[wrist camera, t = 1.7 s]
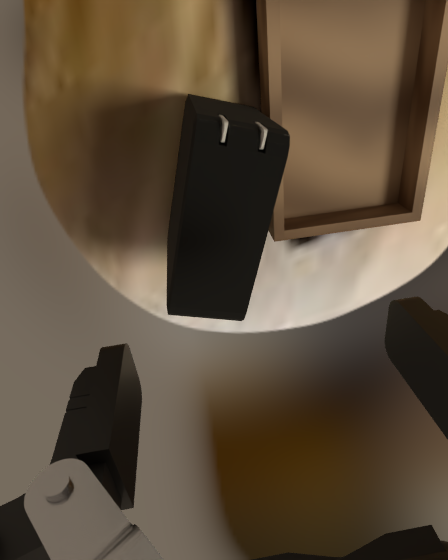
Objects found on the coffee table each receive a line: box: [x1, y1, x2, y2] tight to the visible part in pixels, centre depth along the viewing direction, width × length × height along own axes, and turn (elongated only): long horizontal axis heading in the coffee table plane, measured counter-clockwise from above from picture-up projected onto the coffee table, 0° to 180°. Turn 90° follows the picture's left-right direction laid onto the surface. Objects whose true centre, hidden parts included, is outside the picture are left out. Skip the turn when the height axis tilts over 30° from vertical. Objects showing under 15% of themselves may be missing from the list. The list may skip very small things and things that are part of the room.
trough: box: [256, 0, 448, 241], centre depth 24 cm, size 16×10×3 cm, turn 5°
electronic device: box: [167, 94, 290, 321], centre depth 22 cm, size 4×10×10 cm, turn 169°
